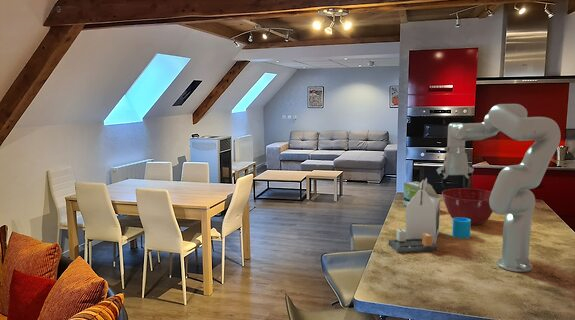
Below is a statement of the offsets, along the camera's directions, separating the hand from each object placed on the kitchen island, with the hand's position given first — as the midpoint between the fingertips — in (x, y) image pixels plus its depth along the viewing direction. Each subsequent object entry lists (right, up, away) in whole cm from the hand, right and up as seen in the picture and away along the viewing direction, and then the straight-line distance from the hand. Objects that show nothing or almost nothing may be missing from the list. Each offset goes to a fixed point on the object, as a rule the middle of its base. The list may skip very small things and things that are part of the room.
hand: (454, 186), depth 213 cm
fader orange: (-16, -25, -10) cm, 31 cm away
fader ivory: (-26, -24, -3) cm, 35 cm away
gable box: (-12, -25, +10) cm, 30 cm away
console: (-21, -27, -6) cm, 35 cm away
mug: (+8, -24, +12) cm, 28 cm away
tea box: (+2, -17, +67) cm, 69 cm away
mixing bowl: (+20, -21, +35) cm, 46 cm away
